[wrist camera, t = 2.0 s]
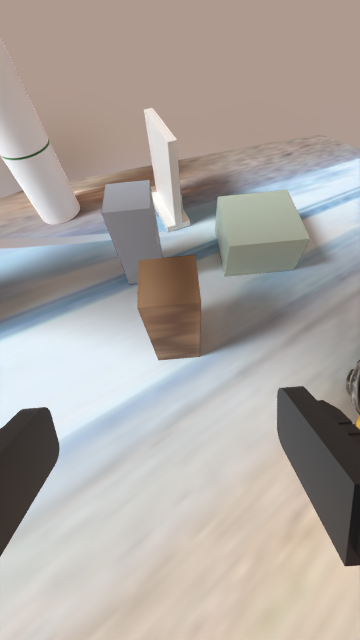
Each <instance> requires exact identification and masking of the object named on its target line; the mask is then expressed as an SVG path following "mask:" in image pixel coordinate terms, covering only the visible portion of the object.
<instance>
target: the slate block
mask: <svg viewBox="0 0 360 640" xmlns="http://www.w3.org/2000/svg"><path fill="white" fill-rule="evenodd" d="M101 213H102V216H103V218H104V221H105V223H106V226H107V228H108V231H109V233H110V236H111V239H112V241H113V244H114V246H115V249H116V251H117V254H118V256H119V259H120V261H121V264H122V267H123V269H124V272H125V274H126V277H127V279H128V282H129V284H138V267H139V260H146V259H157V258H163V256H162V250H161V244H160V238H159V233H158V227H157V221H156V215H155V209H154V204H153V198H152V192H151V186H150V180H143V181H132V182H122V183H112V184H106V185H105V192H104V198H103V205H102V212H101Z"/></svg>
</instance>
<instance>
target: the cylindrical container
mask: <svg viewBox="0 0 360 640" xmlns="http://www.w3.org/2000/svg"><path fill="white" fill-rule="evenodd" d="M0 155H1V157H2V159H3V160H4V161H5V163H6V165H7V166H8V168H9V169H10V171H11V172H12V174H13V175H14V177H15V178H16V180H17V181H18V183H19V184H20V186H21V188H22V189H23V191H24V192H25V194H26V195H27V197H28V198H29V200H30V201H31V203H32V204H33V206H34V207H35V209H36V210H37V212H38V213H39V215H40V217H41V218H42V220H43V221H44V222H46V223H48V224H62V223H65V222H67V221H70V220H71V219H73V218H74V217H75V216H76V215H77V214H78V213H79V210H80V205H79V203H78V201H77V199H76V196H75V194H74V192H73V190H72V188H71V186H70V184H69V182H68V180H67V177H66V175H65V173H64V171H63V169H62V167H61V165H60V163H59V161H58V158H57V156H56V154H55V152H54V150H53V148H52V145H51V143H50V141H49V139H48V137H47V135H46V133H45V130H44V128H43V126H42V124H41V122H40V120H39V118H38V116H37V113H36V111H35V109H34V107H33V105H32V103H31V101H30V98H29V96H28V94H27V92H26V90H25V88H24V86H23V84H22V81H21V79H20V77H19V75H18V73H17V71H16V69H15V66H14V64H13V62H12V60H11V58H10V56H9V54H8V52H7V50H6V47H5V45H4V43H3V41H2V39H1V37H0Z"/></svg>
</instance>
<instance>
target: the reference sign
mask: <svg viewBox="0 0 360 640" xmlns="http://www.w3.org/2000/svg"><path fill="white" fill-rule="evenodd" d="M144 113H145V120H146V126H147V133H148V139H149V146H150V153H151V159H152V166H153V172H154V179H155V185H156V191H155V192H152V198H153V204H154V207H155V209H156V211H157V213H158V215H159V216H160V218H161V220H162V222H163V224H164V226H165V228H166V230H167V232H171V231H174V230H177V229H181V228H184V227H187V226H190V220H189V218H188V216H187V215H186V213H185V211H184V210H183V204H182V193H181V192H180V182H179V166H178V150H177V140H176V138H175V137H174V136H173V134H172V133H171V132H170V130H169V129H168V128H167V127H166V125H165V124H164V122H163V121H162V120H161V119H160V117H159V116H158V115H157V113H156V112H155V111H154V110H153V108H149V109H144Z"/></svg>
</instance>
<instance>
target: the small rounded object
mask: <svg viewBox="0 0 360 640" xmlns="http://www.w3.org/2000/svg"><path fill="white" fill-rule="evenodd" d="M346 390H347V392H348V394H349V395H350V396H351V400H352V404H353V406H354V407H355V409H356V410H357V412H358V413H359V414H360V360H359V361H358V362H357V366H356V367H355V369H352V370H351V371H350V372H349V373H348V375H347V377H346ZM356 426H357V427H358V428H359V429H360V416H359V417H358V420H357V422H356Z"/></svg>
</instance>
